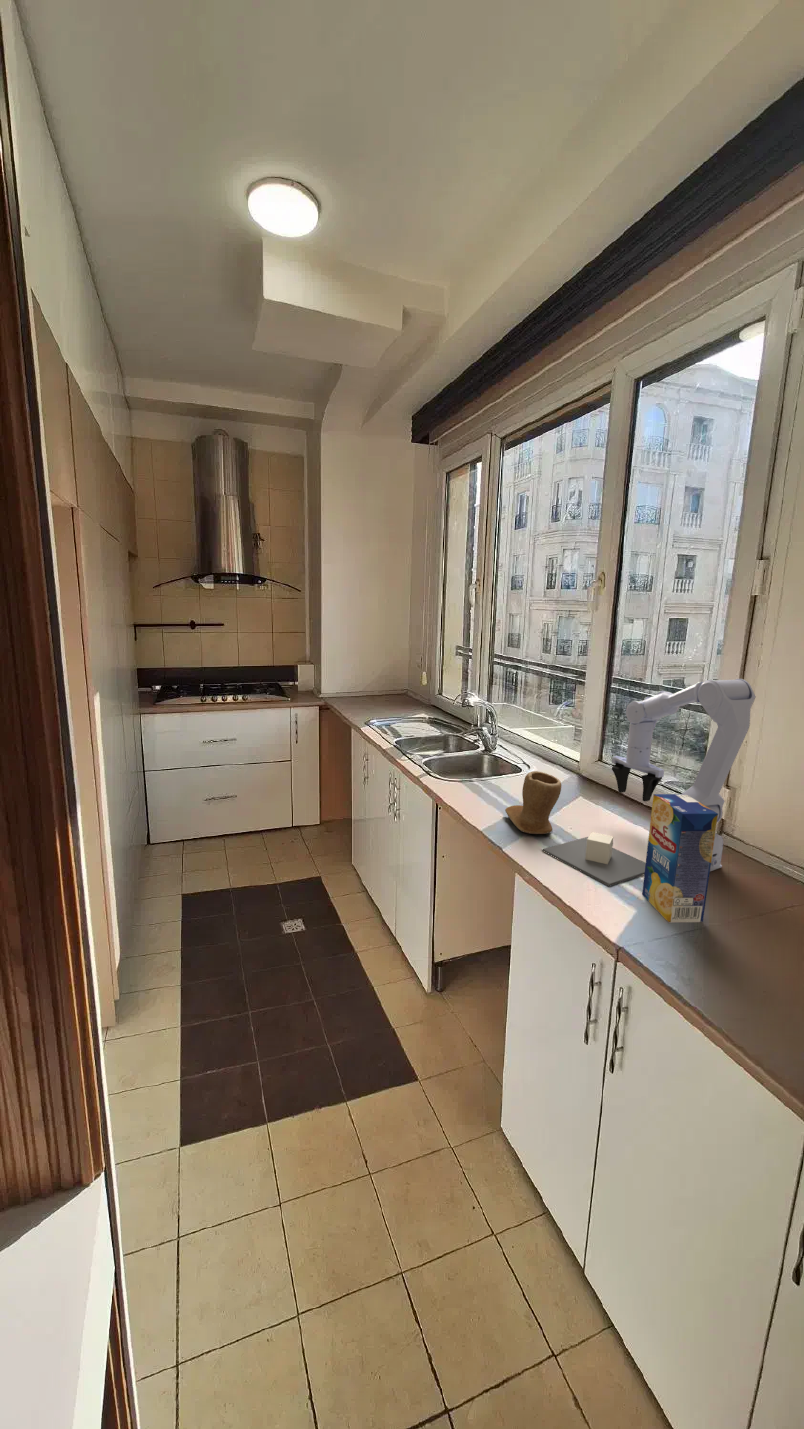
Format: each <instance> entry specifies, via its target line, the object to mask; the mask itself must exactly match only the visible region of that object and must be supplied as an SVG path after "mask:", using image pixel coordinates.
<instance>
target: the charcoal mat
mask: <svg viewBox="0 0 804 1429" xmlns="http://www.w3.org/2000/svg"><path fill="white" fill-rule="evenodd" d="M588 837H589V836H586V837H582V838H579V839H575V840H570V841H567V842H564V843H560V844H556V845H552V846H548V847H544V848H542V852H543V851H545V852H547V853H549V854H550V855H549V854H548V855H549V856H551V855H552V856H551V857H553V856H554V857H553V858H555V857H556V858H558V859H559V861H560V860H561V861H560V862H562V861H563V862H562V863H564V864H565V865H568V866H570V867H572V866H573V867H575V868H577V869H578V870H577V869H576V870H577V871H579V870H581V871H582V872H581V871H580V872H581V873H583V872H584V873H583V874H585V875H587V876H589V877H590V876H591V879H594V880H596V881H599V882H600V883H602V884H604V885H606V886H608V887H612V886H615V885H618V884H621V883H624V882H627V881H630V880H632V879H635V878H638V877H642V876H644V873H645V865H646V861H643V860H640V858H639V859H638V858H637V857H635V856H632V855H630V854H627V853H625V852H623V851H621V850H620V849H617V848H615V847H612V856H611V858H610V860H609V862H608V864H604V863H600V862H595V861H591V860H587V859H585V857H586V847H587V839H588ZM545 852H544V853H545ZM547 853H546V854H547ZM556 858H555V859H556ZM558 859H557V860H558ZM573 867H572V868H573ZM575 868H574V869H575Z"/></svg>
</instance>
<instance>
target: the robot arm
mask: <svg viewBox="0 0 804 1429" xmlns="http://www.w3.org/2000/svg"><path fill="white" fill-rule="evenodd" d="M756 697H757V696H756V694H755V692H754V690H753V687H752V685H751V684H750V683H749V681H747V680H745V679H743V678H736V679H717V680H716V679H715V680H714V679H706V680H704V681H698V682H697V683H695V684H693V685H690V686H689V687H686V688H684V689H681V690H679V691H677V692H673V693H672V692H669V691H666V690H659V691H657V693H656V695H652V696H646V697H644V699H643V700H640V701H637V700H631V702H630V703H628V704H627V706H626V707H625V708H626V710H625V716H626V718H627V720H628V722H629V729H628V738H627V747H626V757H625V756H620V755H613V756H612V757H611V758H612V760H611V764H613V766H611V771H612V773H613V774H614V777H615V780H616V785H617V790H618V793H620V794H621V793H625V792H626V790H627V789H628V788H627V787H628V779H629V775H630V772H631V769H633V770H635V771H639V772H642V773H646V774H644V775H641V780H642V801H643V802H646V803H647V802H650V800H651V798H652V795H653V793H654V791H655V789H656V788H657V785H659V783H660V782H661V780H663V777H664V775H665V769H663V768H660V767H659V766H657V765H654V764H652V763H651V762H650V760H651V752H652V751H651V750H652V742H653V734H654V730H655V728H656V725H657V722H658V721H659V720H660V719H663V718H666V717H669V716H672V715H675V714H676V713H677V712H678V711H679V708H680V707H683V706H687V705H689V704H694V703H697V704H700V705H701V707H702V708H703V710H704V711H705V713H706V714H707V715H708V716H709V717H710V719H711V720H712V721H713V722H714V723H716V724H717V725H716V726H717V728H716V731H715V733H714V735H713V737H712V740H711V743H710V744H709V747H708V749H707V752H706V754H705V756H704V759H703V760H702V763H701V766H700V768H699V770H698V772H697V775H696V777H695V780H694V782H693V784H692V786H690V787H689V788H688V789H686V790H685V791H683V792H682V793H681V794H687V795H688V796H690V797H692V798H693V799H695V800H696V801H698V802H700V803H701V804H703V805H705V806H706V807H708V808H709V809H711V810H713V811H714V812H716V813H718V817H717V823H719V822H720V821H721V819H722V818H723V817H722V816H723V806H724V804H725V799H724V798H723V796H722V795H721V794H720V792H721V791H722V789H723V786H724V784H725V781H726V779H727V777H728V775H729V773H730V771H731V769H732V766H733V764H734V762H735V759H736V758H737V756H738V753H739V752H740V749H741V747H742V745H743V742H744V740H745V738H746V736H747V734H748V731H749V729H750V726H751V720H750V719H751V709H752V706H753V704H754V702H755V699H756ZM723 848H724V839H723V836H721V835H720V834H718V833H716V832H715V838H714V846H713V853H712V860H711V867H710V872H712V871H715V870H718V869H721V868H723V864H722V856H723V850H724V849H723Z"/></svg>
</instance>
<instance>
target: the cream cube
mask: <svg viewBox="0 0 804 1429" xmlns="http://www.w3.org/2000/svg"><path fill="white" fill-rule="evenodd" d="M587 837H588V839H587V847H586V857H585V859H587V860H591V861H595V862H600V863H604V864H608V862H609V860H610V858H611V856H612V848H613V847H614V846H613V844H614V835H613V836H612V835H608V834H604V833H599V832H593V831H591V833H590V834H589V836H587Z"/></svg>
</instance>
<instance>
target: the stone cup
mask: <svg viewBox="0 0 804 1429" xmlns="http://www.w3.org/2000/svg"><path fill="white" fill-rule="evenodd" d="M523 780H524V781H523V784H522V793H521V795H522V805H517V804H516V805H510V806H507V807H506V808H505V809H504V811H505V813H506V815H507V816H508V818H509V819H510V821H511V822H512V823H513V825H514V826H516V828H517V829H518V830H520V831H521V833H522V832H523V833H525V834H529V835H530V834H531V835H546V834H550V833H551V832H553V827H552V824H551V822H550V820H549V819H550V815H551V813H552V811H553V809H554V807H555V805H556V803H557V801H559V798H560V795H561V793H562V792H561V791H562V782H561V781H560V779H559V778H557V777H556V776H553V775H551V774H549V773H546V772H542V771H536V770H533V771H530V772H528V773H527V774H526V775H525V777H524V779H523Z"/></svg>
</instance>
